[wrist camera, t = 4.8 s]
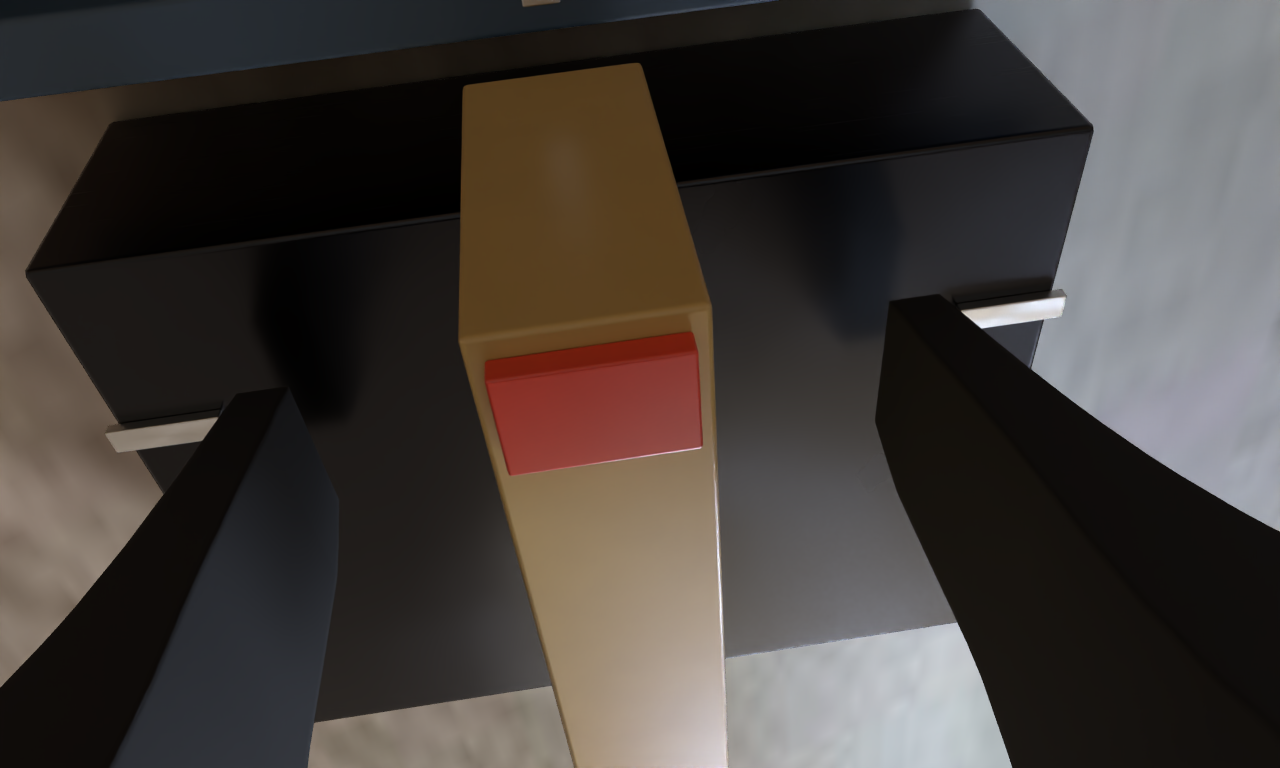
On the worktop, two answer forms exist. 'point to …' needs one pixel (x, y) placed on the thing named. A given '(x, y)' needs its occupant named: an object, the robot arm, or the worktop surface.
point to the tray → (258, 33)
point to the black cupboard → (429, 316)
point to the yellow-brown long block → (598, 406)
